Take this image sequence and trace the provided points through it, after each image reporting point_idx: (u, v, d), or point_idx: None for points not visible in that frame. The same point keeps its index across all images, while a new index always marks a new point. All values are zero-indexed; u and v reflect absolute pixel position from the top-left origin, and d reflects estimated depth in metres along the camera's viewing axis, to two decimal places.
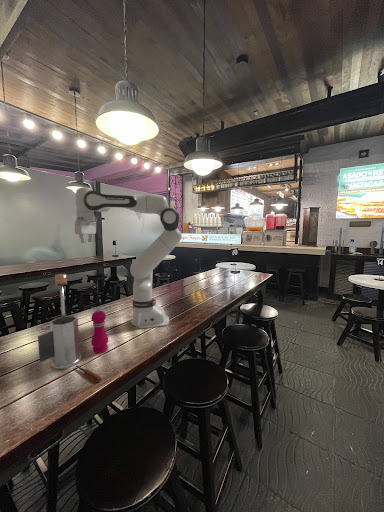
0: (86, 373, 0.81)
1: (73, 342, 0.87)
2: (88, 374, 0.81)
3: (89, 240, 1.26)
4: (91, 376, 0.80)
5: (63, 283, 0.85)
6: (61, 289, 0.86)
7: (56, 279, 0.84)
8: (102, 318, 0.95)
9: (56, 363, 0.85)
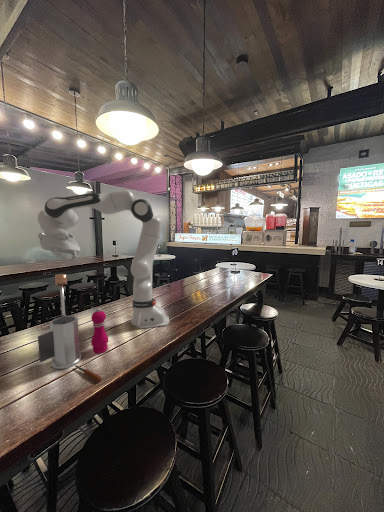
0: (86, 373, 0.81)
1: (73, 342, 0.87)
2: (88, 374, 0.80)
3: (73, 257, 1.11)
4: (91, 376, 0.79)
5: (63, 283, 0.85)
6: (61, 289, 0.86)
7: (56, 279, 0.84)
8: (102, 318, 0.95)
9: (56, 363, 0.85)
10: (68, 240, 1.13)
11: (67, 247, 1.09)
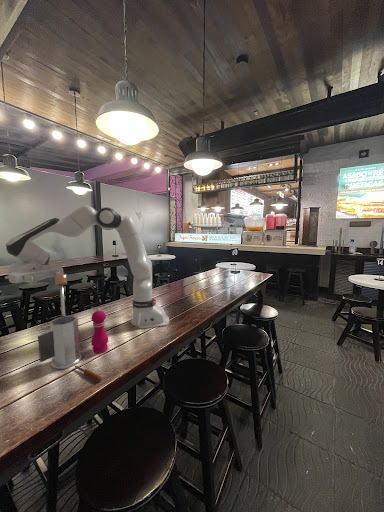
0: (86, 373, 0.81)
1: (73, 342, 0.87)
2: (88, 374, 0.80)
3: (55, 274, 0.96)
4: (91, 376, 0.79)
5: (63, 283, 0.85)
6: (61, 289, 0.86)
7: (56, 279, 0.84)
8: (102, 318, 0.95)
9: (56, 363, 0.85)
10: (43, 267, 1.01)
11: (42, 270, 0.96)
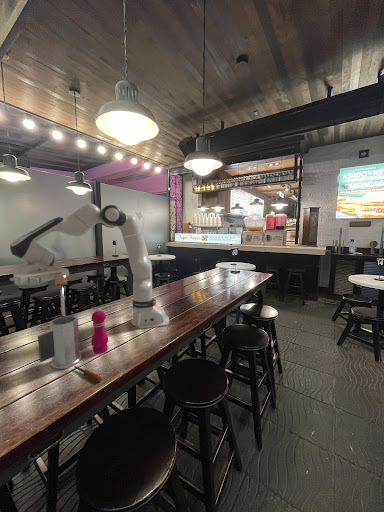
0: (85, 373, 0.81)
1: (73, 342, 0.87)
2: (88, 374, 0.80)
3: None
4: (91, 376, 0.79)
5: (63, 283, 0.85)
6: (61, 289, 0.86)
7: (56, 279, 0.84)
8: (102, 318, 0.95)
9: (56, 363, 0.85)
10: (49, 269, 0.98)
11: (48, 272, 0.94)
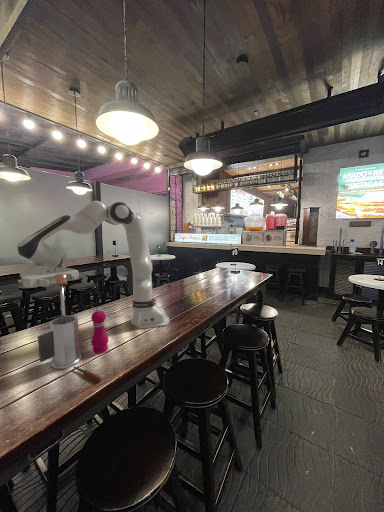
0: (85, 374, 0.81)
1: (73, 342, 0.87)
2: (87, 375, 0.80)
3: (71, 278, 0.90)
4: (91, 376, 0.79)
5: (63, 283, 0.85)
6: (61, 289, 0.86)
7: (56, 279, 0.84)
8: (102, 318, 0.95)
9: (56, 363, 0.85)
10: (58, 270, 0.94)
11: (57, 273, 0.90)
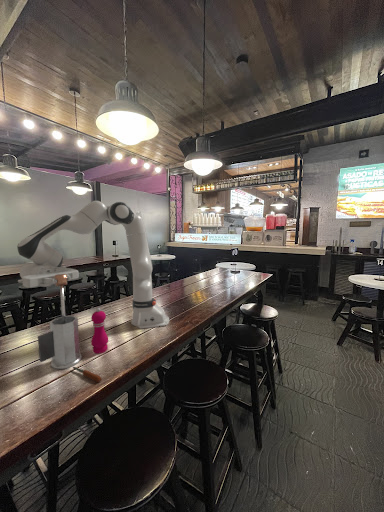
0: (85, 374, 0.81)
1: (73, 342, 0.87)
2: (87, 375, 0.80)
3: None
4: (90, 376, 0.79)
5: (63, 283, 0.85)
6: (61, 289, 0.86)
7: None
8: (102, 318, 0.95)
9: (56, 363, 0.85)
10: (58, 270, 0.94)
11: (57, 273, 0.89)
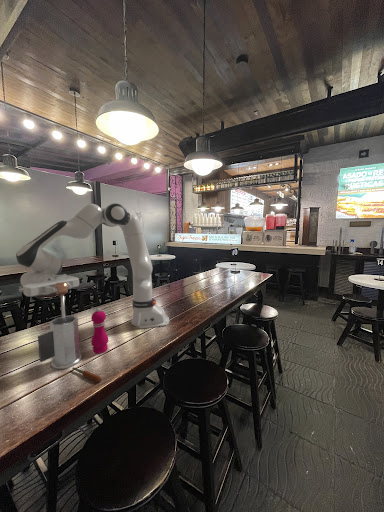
0: (85, 374, 0.80)
1: (73, 342, 0.87)
2: (87, 375, 0.80)
3: None
4: (90, 377, 0.79)
5: (64, 292, 0.86)
6: (62, 297, 0.87)
7: None
8: (102, 318, 0.95)
9: (56, 363, 0.85)
10: (58, 278, 0.95)
11: (58, 281, 0.90)
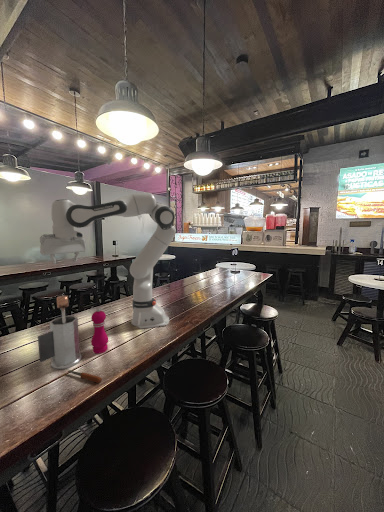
0: (83, 376, 0.79)
1: (73, 342, 0.87)
2: (86, 377, 0.79)
3: (73, 259, 1.08)
4: (90, 378, 0.78)
5: (64, 305, 0.86)
6: (62, 311, 0.87)
7: (58, 301, 0.85)
8: (102, 318, 0.95)
9: (56, 363, 0.85)
10: (74, 240, 1.06)
11: (69, 251, 1.04)
